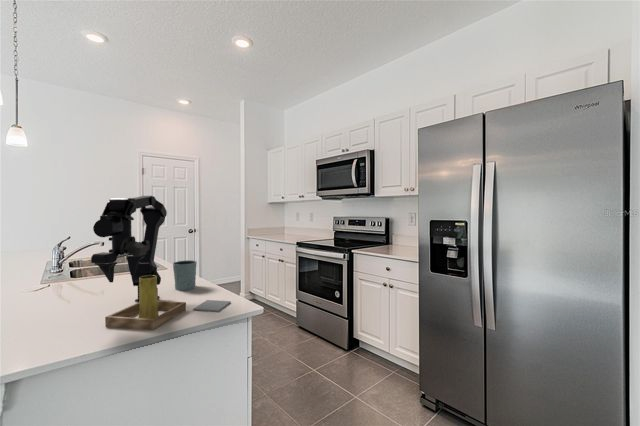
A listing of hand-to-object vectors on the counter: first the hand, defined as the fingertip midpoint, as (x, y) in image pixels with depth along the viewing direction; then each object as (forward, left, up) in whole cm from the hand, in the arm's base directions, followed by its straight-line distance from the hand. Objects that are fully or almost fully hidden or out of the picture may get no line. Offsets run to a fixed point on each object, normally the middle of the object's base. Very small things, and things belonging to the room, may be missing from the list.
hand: (122, 278), depth 103 cm
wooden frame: (+10, 0, -13) cm, 16 cm away
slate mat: (+26, +14, -13) cm, 32 cm away
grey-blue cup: (+1, +35, -13) cm, 37 cm away
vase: (+10, 0, -13) cm, 17 cm away
